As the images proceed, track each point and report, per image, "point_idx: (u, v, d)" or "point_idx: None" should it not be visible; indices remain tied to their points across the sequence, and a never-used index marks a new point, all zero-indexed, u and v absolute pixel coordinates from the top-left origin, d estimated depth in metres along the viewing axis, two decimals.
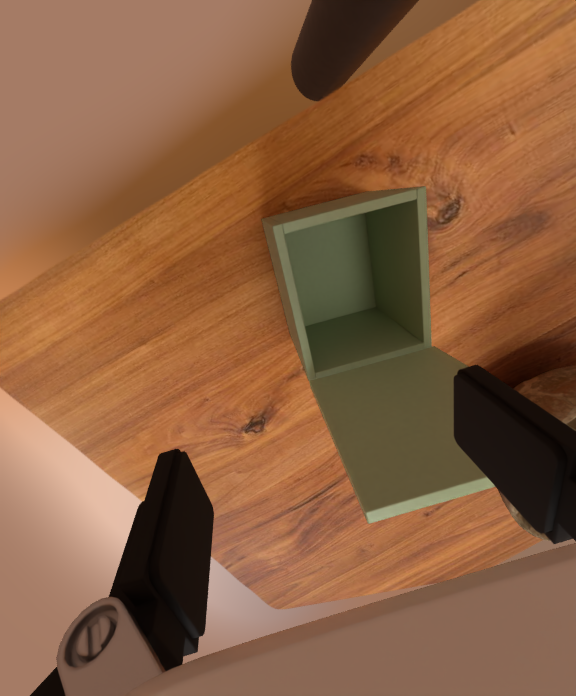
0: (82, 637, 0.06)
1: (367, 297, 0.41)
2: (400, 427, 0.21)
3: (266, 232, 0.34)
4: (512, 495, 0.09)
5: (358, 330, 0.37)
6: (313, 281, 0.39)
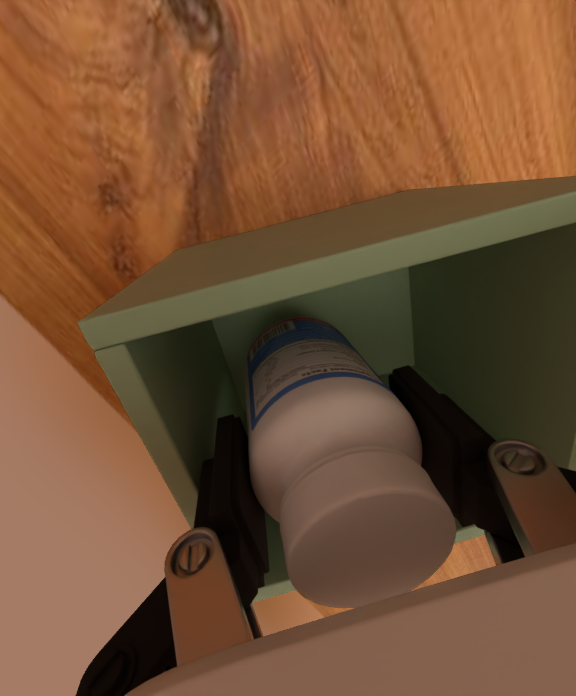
0: (184, 553, 0.07)
1: None
2: None
3: None
4: None
5: (461, 300, 0.16)
6: None
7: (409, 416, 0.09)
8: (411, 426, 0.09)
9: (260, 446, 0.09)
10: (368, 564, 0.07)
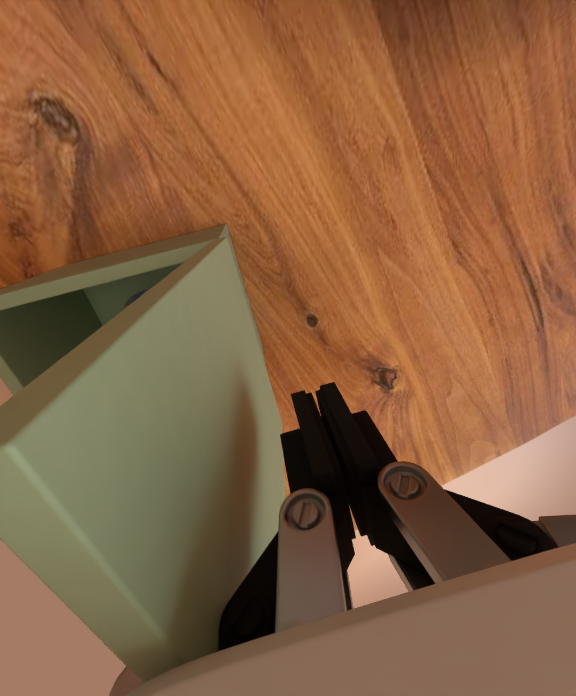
0: (298, 507, 0.07)
1: None
2: None
3: None
4: (349, 501, 0.10)
5: None
6: None
7: None
8: None
9: None
10: None
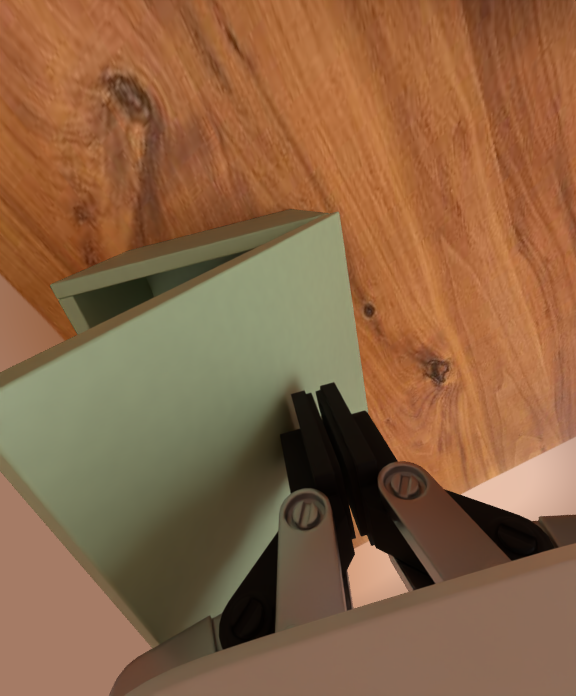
0: (298, 506, 0.07)
1: None
2: None
3: None
4: (349, 501, 0.10)
5: None
6: None
7: None
8: None
9: None
10: None
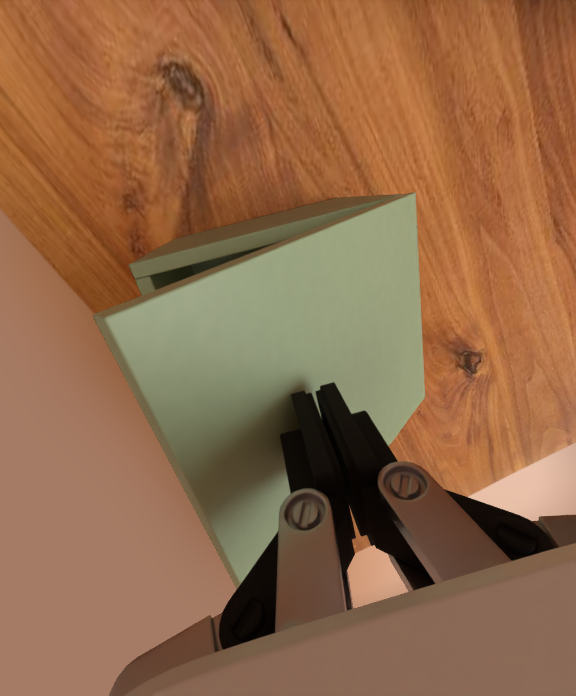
0: (298, 506, 0.07)
1: None
2: None
3: None
4: (349, 501, 0.10)
5: None
6: None
7: None
8: None
9: None
10: None
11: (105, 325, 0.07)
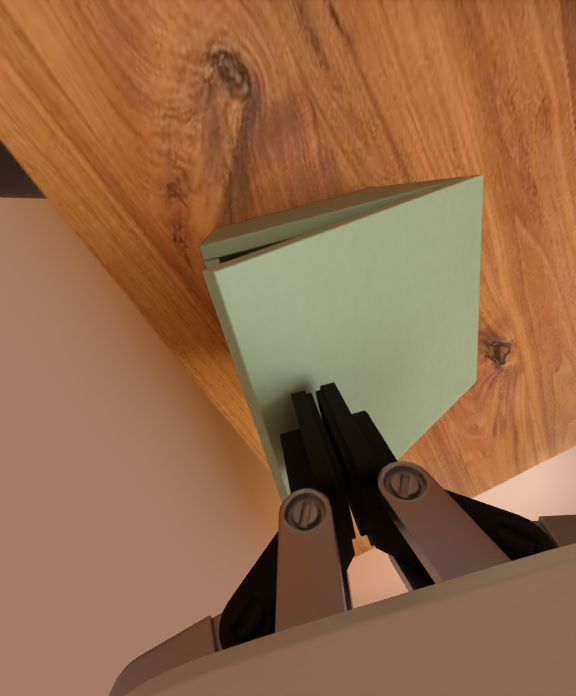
0: (298, 507, 0.07)
1: None
2: None
3: None
4: (349, 501, 0.10)
5: None
6: None
7: None
8: None
9: None
10: None
11: (213, 278, 0.09)
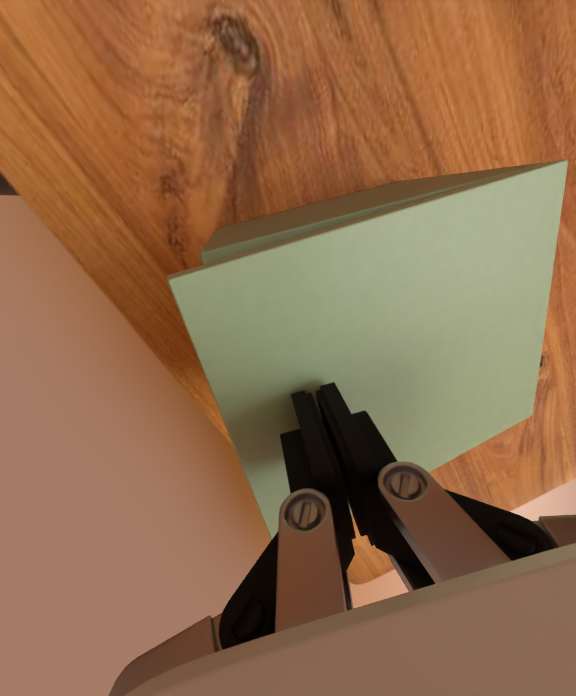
0: (298, 507, 0.07)
1: None
2: None
3: None
4: (349, 501, 0.10)
5: None
6: None
7: None
8: None
9: None
10: None
11: (169, 285, 0.09)
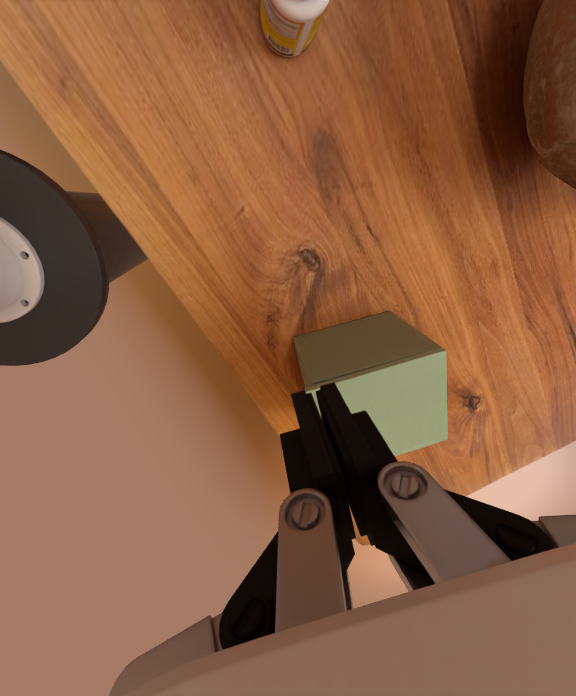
0: (298, 506, 0.07)
1: None
2: None
3: None
4: (349, 501, 0.10)
5: None
6: None
7: None
8: None
9: None
10: None
11: None
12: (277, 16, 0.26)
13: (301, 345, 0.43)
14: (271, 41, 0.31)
